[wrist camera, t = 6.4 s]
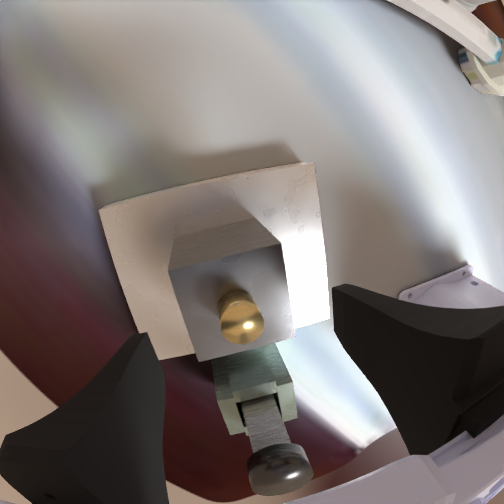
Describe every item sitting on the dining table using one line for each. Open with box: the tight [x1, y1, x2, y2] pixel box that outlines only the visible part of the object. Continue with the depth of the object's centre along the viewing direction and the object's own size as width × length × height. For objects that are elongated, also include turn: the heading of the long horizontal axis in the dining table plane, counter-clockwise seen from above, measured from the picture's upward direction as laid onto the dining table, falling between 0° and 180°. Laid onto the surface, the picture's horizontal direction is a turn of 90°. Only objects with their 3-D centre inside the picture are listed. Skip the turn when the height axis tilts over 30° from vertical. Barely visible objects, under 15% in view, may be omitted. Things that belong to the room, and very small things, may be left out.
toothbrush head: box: [387, 0, 504, 96], centre depth 14 cm, size 5×7×25 cm
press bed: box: [99, 162, 330, 436], centre depth 18 cm, size 12×16×5 cm
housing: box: [168, 218, 296, 362], centre depth 14 cm, size 4×4×6 cm
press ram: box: [241, 394, 313, 496], centre depth 16 cm, size 3×3×8 cm
